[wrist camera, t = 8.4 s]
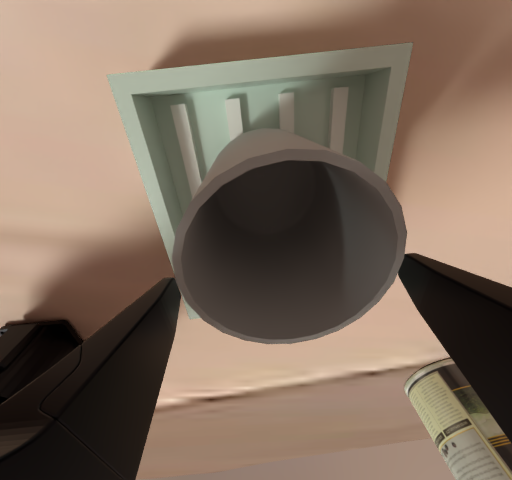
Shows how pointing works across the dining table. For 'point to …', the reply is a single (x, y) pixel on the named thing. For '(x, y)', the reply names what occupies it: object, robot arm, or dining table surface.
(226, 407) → the dining table surface
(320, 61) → the drying rack
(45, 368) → the robot arm
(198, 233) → the cup
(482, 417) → the coffee can
